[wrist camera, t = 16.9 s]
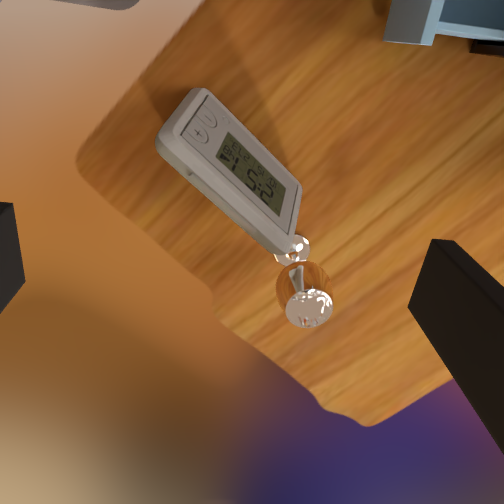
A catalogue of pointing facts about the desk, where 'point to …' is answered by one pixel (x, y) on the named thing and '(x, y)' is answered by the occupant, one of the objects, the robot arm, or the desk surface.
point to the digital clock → (232, 169)
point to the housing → (487, 48)
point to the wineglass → (303, 287)
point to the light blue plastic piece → (444, 20)
